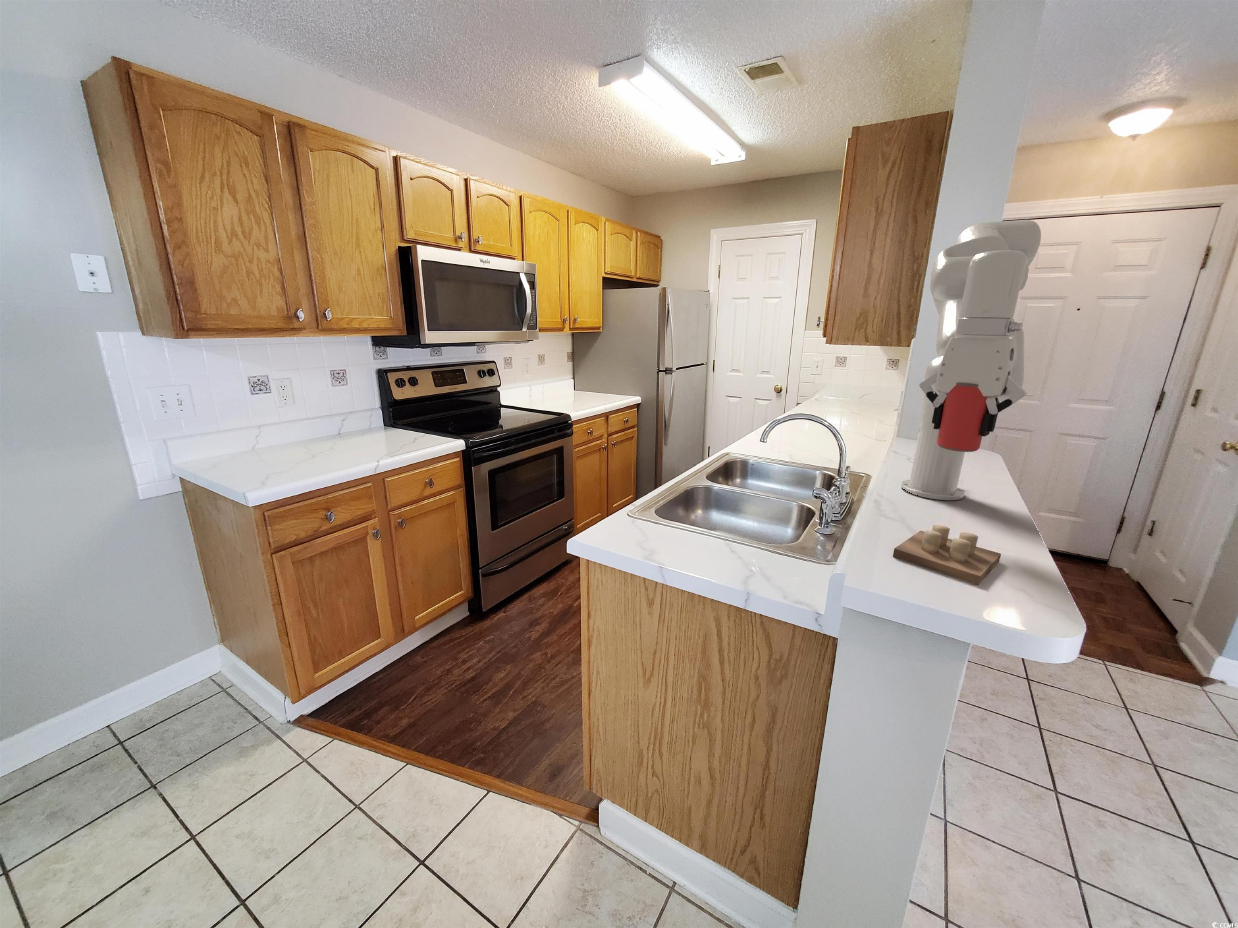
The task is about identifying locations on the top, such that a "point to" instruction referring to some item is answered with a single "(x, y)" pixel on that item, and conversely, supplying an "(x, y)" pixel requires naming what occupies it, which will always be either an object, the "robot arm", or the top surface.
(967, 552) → the peg stand
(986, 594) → the top surface
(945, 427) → the beer can
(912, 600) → the top surface
